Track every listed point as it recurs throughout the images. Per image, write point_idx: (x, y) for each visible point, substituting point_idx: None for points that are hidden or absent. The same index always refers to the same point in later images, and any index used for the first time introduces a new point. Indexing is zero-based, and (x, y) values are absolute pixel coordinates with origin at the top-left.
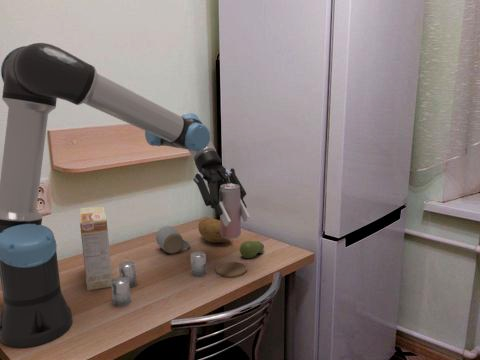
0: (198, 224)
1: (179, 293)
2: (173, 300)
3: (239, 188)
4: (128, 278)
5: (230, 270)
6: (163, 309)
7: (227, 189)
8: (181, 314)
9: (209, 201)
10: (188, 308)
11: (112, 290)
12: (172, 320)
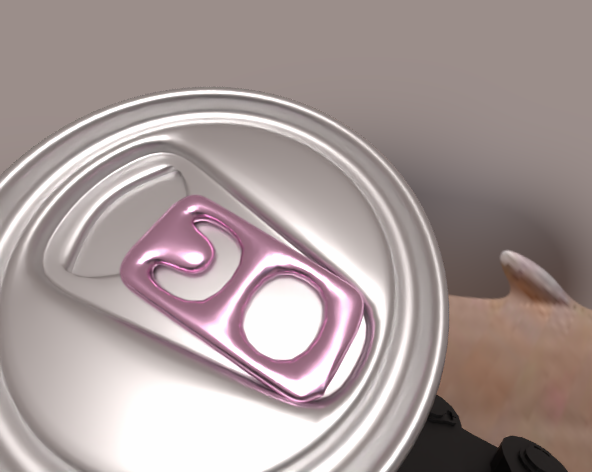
0: None
1: (491, 402)
2: (526, 381)
3: (139, 130)
4: None
5: None
6: (570, 362)
7: (392, 192)
8: (539, 303)
9: (545, 450)
10: (511, 310)
11: None
12: (569, 300)
